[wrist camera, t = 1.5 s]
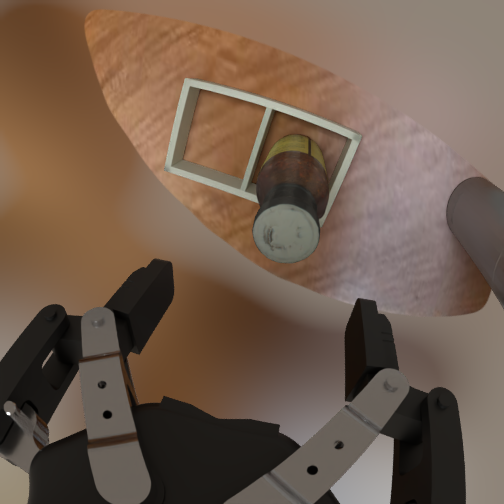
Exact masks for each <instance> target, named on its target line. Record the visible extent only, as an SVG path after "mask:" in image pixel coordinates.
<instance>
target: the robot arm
mask: <svg viewBox="0 0 504 504" xmlns="http://www.w3.org/2000/svg"><path fill="white" fill-rule="evenodd" d="M447 221H448V225H449V227H450V229H451V231H452V232H453V234H454V235H455V236H456V238H457V239H458V240H459V242H460V243H461V244H462V246H463V247H464V249H465V250H466V251H467V253H468V254H469V256H470V257H471V259H472V260H473V261H474V263H475V264H476V266H477V267H478V269H479V270H480V272H481V273H482V275H483V276H484V278H485V279H486V281H487V283H488V284H489V286H490V287H491V289H492V291H493V292H494V294H495V295H496V297H497V299H498V300H499V302H500V304H501V305H502V307H503V309H504V192H503V191H502V190H501V189H499V188H498V187H497V186H495V185H494V184H492V183H491V182H489V181H488V180H486V179H484V178H479V177H475V178H470V179H467V180H465V181H464V182H462V183H461V184H460V185H459V186H458V187H457V188H456V189H455V190H454V192H453V193H452V195H451V197H450V200H449V202H448V207H447ZM173 296H174V280H173V267H172V263H171V262H170V261H164V260H160V259H153V260H152V261H151V263H150V264H149V265H148V266H147V267H146V268H144V267H142V268H140V269H138V270H136V271H135V272H133V273H132V274H131V275H130V276H129V277H128V279H127V280H126V281H125V282H124V283H123V284H122V286H121V287H120V288H119V289H118V290H117V292H116V293H115V294H114V295H113V296H112V297H111V299H110V300H109V301H108V302H107V303H106V305H105V306H104V307H97V308H93V309H91V310H89V311H87V312H86V313H85V314H84V315H83V316H72V315H67V313H66V311H65V309H64V307H63V306H61V305H57V304H53V305H48V306H46V307H44V308H43V309H42V310H41V311H40V312H39V313H38V314H37V315H36V317H35V318H34V319H33V320H32V321H31V323H30V324H29V325H28V326H27V328H26V329H25V330H24V331H23V333H22V334H21V335H20V336H19V338H18V339H17V340H16V341H15V343H14V344H13V345H12V347H11V348H10V349H9V351H8V352H7V353H6V355H5V356H4V357H3V359H2V360H1V362H0V457H2V458H4V459H6V460H7V461H8V462H10V463H11V464H13V465H15V466H18V467H20V468H21V469H23V470H24V471H25V472H27V473H28V474H29V482H30V486H29V499H28V504H340V503H339V502H338V500H337V499H336V497H335V496H334V494H333V493H332V492H331V490H330V488H331V487H332V486H333V485H334V484H335V483H336V482H337V481H338V480H339V479H340V478H341V477H342V476H343V475H344V474H345V473H346V472H347V470H348V469H349V468H350V467H351V466H352V465H353V464H354V463H355V462H356V461H357V460H358V458H359V457H360V456H361V455H362V454H363V453H364V452H365V450H366V449H367V448H368V447H369V446H370V444H371V443H372V442H373V441H374V440H375V438H376V437H377V436H378V435H379V433H381V434H384V435H386V436H389V437H392V438H394V454H393V475H392V490H391V501H390V504H466V486H465V463H464V451H463V440H462V432H461V424H460V418H459V411H458V404H457V400H456V398H455V396H454V395H453V394H452V392H450V391H449V390H447V389H446V388H442V387H438V388H434V389H432V390H431V391H430V392H429V394H428V393H425V392H423V391H420V390H417V389H414V388H412V387H411V386H409V382H408V380H407V378H406V377H405V376H404V375H403V374H402V373H401V372H400V371H399V367H398V361H397V355H396V349H395V344H394V338H393V335H392V328H391V324H390V322H389V321H388V319H387V318H386V316H385V315H384V314H378V311H377V305H376V302H375V301H373V300H367V299H361V298H358V299H357V301H356V303H355V306H354V308H353V311H352V313H351V316H350V318H349V321H348V323H347V326H346V331H345V401H348V402H351V403H350V404H349V405H348V406H347V405H346V406H345V407H343V408H342V409H341V410H340V411H339V412H338V413H337V414H336V415H335V416H334V417H333V418H332V419H331V420H330V421H329V422H328V423H327V424H326V425H325V426H324V427H323V428H322V429H321V430H319V431H318V432H317V433H316V434H315V435H314V436H313V437H312V438H311V439H309V440H308V441H307V442H306V443H305V444H304V445H303V446H300V445H298V444H297V443H296V442H295V441H294V440H292V439H291V438H289V437H287V436H286V435H284V434H282V433H279V427H280V425H278V424H272V423H267V422H262V421H256V420H252V419H218V418H215V417H213V416H211V415H209V414H208V413H205V412H204V411H202V410H200V409H198V408H196V407H195V406H193V405H191V404H188V403H185V402H181V401H178V400H175V399H172V398H169V397H165V396H164V397H163V399H162V401H161V403H145V404H140V405H139V402H138V399H137V396H136V392H135V388H134V384H133V380H132V376H131V372H130V367H129V363H128V359H127V356H128V355H129V353H130V352H133V353H136V354H140V353H141V351H142V349H143V348H144V346H145V344H146V343H147V341H148V339H149V338H150V336H151V334H152V333H153V331H154V330H155V328H156V326H157V325H158V323H159V322H160V320H161V318H162V317H163V315H164V313H165V312H166V310H167V309H168V307H169V305H170V304H171V302H172V300H173ZM51 350H52V351H53V353H52V355H51V357H50V358H49V359H48V361H47V362H46V364H45V365H44V367H43V368H42V364H43V362H44V360H45V359H46V358H47V356H48V355H49V353H50V352H51ZM78 370H79V373H80V383H81V393H82V401H83V409H84V416H85V422H86V429H84V430H82V431H79V432H77V433H75V434H73V435H70V436H68V437H66V438H63V439H61V440H58V441H56V442H54V443H51V444H49V438H48V437H49V429H48V426H47V424H48V423H49V421H50V419H51V417H52V415H53V413H54V411H55V410H56V408H57V406H58V404H59V403H60V401H61V399H62V397H63V396H64V394H65V392H66V390H67V389H68V387H69V385H70V384H71V382H72V380H73V379H74V377H75V375H76V374H77V372H78ZM48 444H49V445H48Z"/></svg>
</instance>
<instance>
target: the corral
mask: <svg viewBox="0 0 504 504" xmlns="http://www.w3.org/2000/svg"><path fill="white" fill-rule="evenodd" d="M200 89H204V90H209V91H213V92H217V93H220V94H224V95H228V96H232V97H235V98H239V99H242V100H246V101H249V102H252V103H256V104H259V105H262V106H265V107H267V108H266V111H265V114H264V117H263V120H262V123H261V126H260V129H259V132H258V135H257V138H256V141H255V144H254V147H253V151H252V154H251V157H250V160H249V163H248V166H247V169H246V172H245V176H244V179H240V178H237V177H234V176H231V175H228V174H225V173H223V172H220V171H217V170H214V169H211V168H208V167H205V166H202V165H198V164H195V163H192V162H189V161H186V160H183V156H184V151H185V147H186V143H187V139H188V134H189V130H190V126H191V122H192V118H193V114H194V110H195V107H196V103H197V99H198V96H199V92H200ZM275 110H277V111H280V112H283V113H286V114H289V115H292V116H295V117H297V118H300V119H303V120H306V121H308V122H311V123H313V124H316V125H319V126H321V127H324V128H326V129H329V130H331V131H334V132H336V133H338V134H341V135H343V136H345V137H348V139H347V141H346V144H345V146H344V149H343V151H342V153H341V156H340V158H339V161H338V163H337V165H336V168H335V170H334V172H333V175H332V177H331V179H330V182H329V184H328V186H329V200H328V204H327V207H326V211H325V214H324V215H323V217H322V218H321V219H319V223H320V227H322V226H323V224H324V221H325V219H326V217H327V215H328V213H329V211H330V208H331V206H332V204H333V202H334V200H335V197H336V195H337V193H338V191H339V189H340V186H341V184H342V182H343V180H344V177H345V175H346V173H347V170H348V168H349V166H350V163H351V161H352V159H353V157H354V154H355V152H356V149H357V147H358V145H359V142H360V140H361V138H362V135H361V134H360V133H359V132H357V131H355V130H353V129H350V128H348V127H346V126H343V125H341V124H339V123H336V122H334V121H331V120H329V119H326V118H324V117H321V116H319V115H316V114H314V113H311V112H308V111H306V110H303V109H300V108H297V107H295V106H292V105H289V104H286V103H283V102H280V101H277V100H274V99H271V98H268V97H264V96H261V95H258V94H255V93H251V92H248V91H244V90H241V89H237V88H233V87H230V86H226V85H222V84H218V83H214V82H210V81H205V80H201V79H194V78H185V81H184V84H183V88H182V92H181V96H180V100H179V104H178V108H177V112H176V116H175V121H174V125H173V129H172V134H171V139H170V143H169V148H168V153H167V158H166V163H165V168H164V171H167V172H170V173H173V174H176V175H179V176H182V177H185V178H188V179H191V180H194V181H197V182H200V183H203V184H206V185H209V186H212V187H215V188H217V189H220V190H223V191H226V192H229V193H232V194H234V195H237V196H240V197H243V198H246V199H248V200H251V201H254V202H256V203H259V202H258V199H257V195H256V184H254V183H251V182H252V179H253V176H254V173H255V170H256V167H257V164H258V161H259V158H260V155H261V152H262V149H263V146H264V143H265V140H266V137H267V134H268V131H269V128H270V125H271V122H272V119H273V116H274V113H275Z"/></svg>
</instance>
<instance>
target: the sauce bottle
mask: <svg viewBox="0 0 504 504" xmlns="http://www.w3.org/2000/svg"><path fill="white" fill-rule="evenodd" d="M256 195H257V199H258V202H259V205H260V209H259V210H258V212H257V214H256V216H255V220H254V224H253V229H252V233H253V238H254V241H255V244H256V246H257V247H258V249H259V250H260V251H261V253H262V254H264V255H265V256H266V257H267V258H268V259H271V260H273V261H275V262H279V263H295V262H298V261H301V260H303V259H305V258H307V257H308V256H309V255H310V254H312V253H313V252H314V251H315V249H316V247H317V245H318V242H319V238H320V223H319V219H321V218H322V217H323V215H324V214H325V211H326V207H327V204H328V200H329V186H328V177H327V172H326V168H325V163H324V159H323V155H322V152H321V150H320V148H319V147H318V145H317V144H316V143H315V142H314V141H313V140H311V139H310V138H309V137H307V136H304V135H299V134H296V135H287V136H284V137H283V138H282V139H280V140H279V141H277V142H276V143H275V144H274V146H273V147H272V148H271V150H270V152H269V154H268V156H267V158H266V160H265V162H264V164H263V165H262V167H261V169H260V172H259V174H258V178H257V183H256Z"/></svg>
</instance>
